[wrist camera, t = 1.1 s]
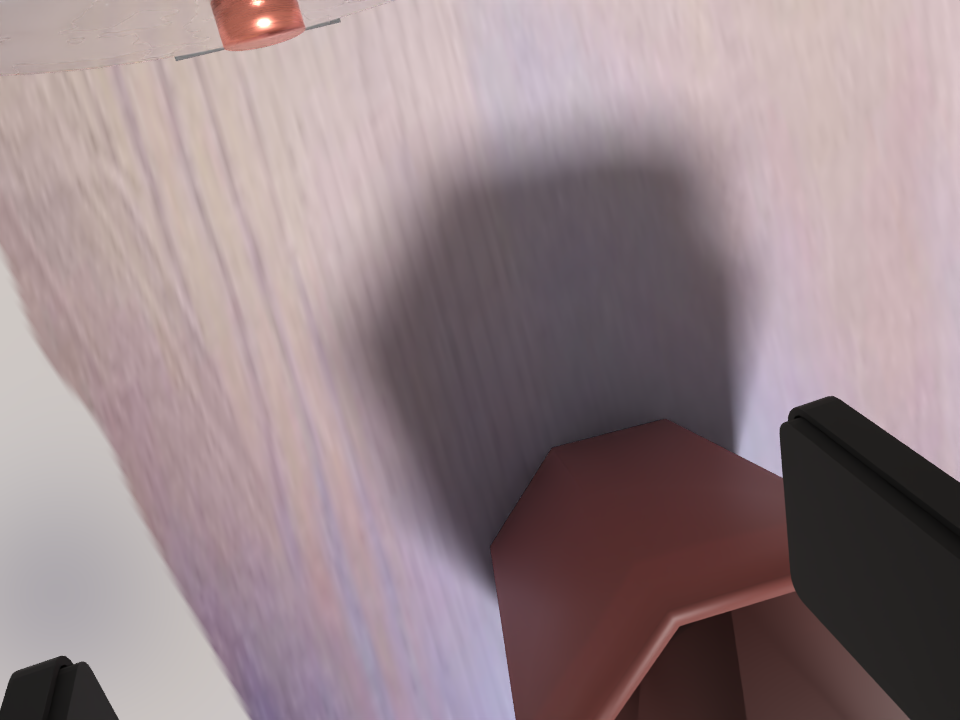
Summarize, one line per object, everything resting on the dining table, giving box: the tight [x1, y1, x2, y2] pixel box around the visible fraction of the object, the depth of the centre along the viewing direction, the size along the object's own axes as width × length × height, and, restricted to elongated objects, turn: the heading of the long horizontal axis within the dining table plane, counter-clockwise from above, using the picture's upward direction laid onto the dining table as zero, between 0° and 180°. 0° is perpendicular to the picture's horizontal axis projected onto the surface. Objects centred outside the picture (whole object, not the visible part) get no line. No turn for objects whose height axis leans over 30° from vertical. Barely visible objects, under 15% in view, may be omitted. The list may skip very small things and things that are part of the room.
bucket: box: [490, 419, 910, 720], centre depth 47 cm, size 24×22×25 cm
